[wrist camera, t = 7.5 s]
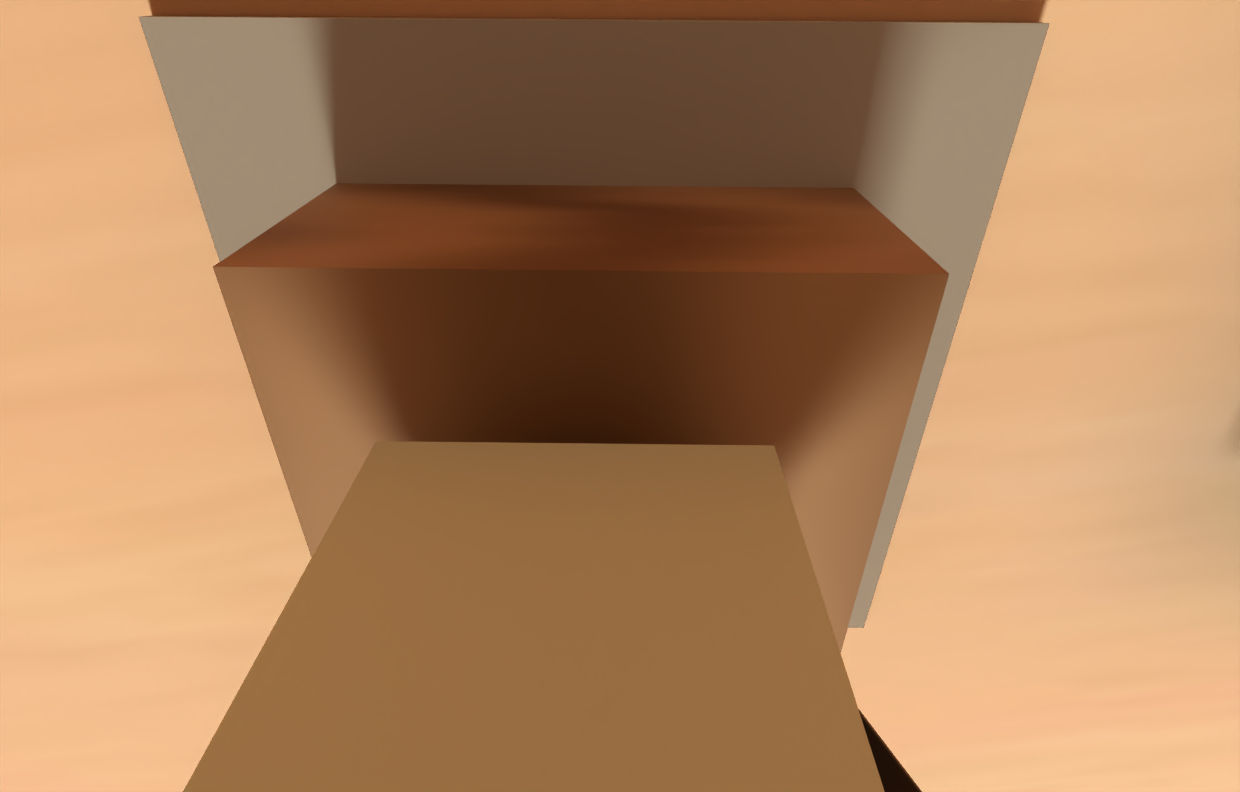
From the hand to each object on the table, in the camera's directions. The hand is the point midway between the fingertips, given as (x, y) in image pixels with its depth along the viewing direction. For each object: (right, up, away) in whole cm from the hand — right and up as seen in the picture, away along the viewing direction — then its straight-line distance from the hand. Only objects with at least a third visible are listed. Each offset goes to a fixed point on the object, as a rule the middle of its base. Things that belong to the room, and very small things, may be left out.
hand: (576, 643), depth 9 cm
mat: (0, +3, +5) cm, 6 cm away
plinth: (0, +3, +5) cm, 6 cm away
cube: (0, +1, +1) cm, 1 cm away
